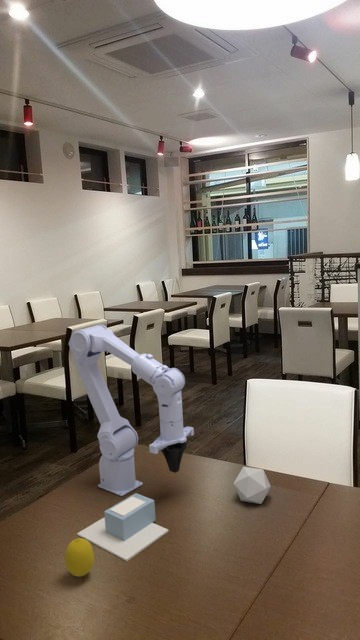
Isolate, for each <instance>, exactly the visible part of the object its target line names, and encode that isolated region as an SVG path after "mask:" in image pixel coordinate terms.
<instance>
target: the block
mask: <svg viewBox="0 0 360 640" xmlns="http://www.w3.org/2000/svg"><path fill="white" fill-rule="evenodd" d="M103 515H104V517H105V528H106V532H107V533H109V534H111V535H113V536H115V537H117V538H119V539H121V540H123V541H126V540H127V539H129V538H130V537H132V536H133V535H135V534H136V533H138V532H139V531H141V530H142V529H144V528H145V527H147V526H148V525H150V524H151V523H154V522H155V521H157V520H156V505H155V500H154V499H152V498H150V497H147V496H144V495H143V494H140V493H133V494H132V495H129V496H128V497H127V498H125V499H123V500H121V501H119V502H117V503H116V504H115V505H113V506H111V507H110V508H107V509H106V510H104V512H103Z"/></svg>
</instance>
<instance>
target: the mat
mask: <svg viewBox="0 0 360 640" xmlns="http://www.w3.org/2000/svg"><path fill="white" fill-rule="evenodd" d="M168 532H170V531H169V529H168V528H165V527H163V526H161V525H159V524H157V523H154V522H153V523H151V524H150V525H148V526H147V527H145V528H144V529H142V530H141V531H139V532H138V533H136V534H135V535H133V536H132V537H130V538H129V539H127V540H126V541H123V540H121V539H119V538H117V537H115V536H113V535H111V534H109V533H107V532H106V528H105V516H104V517H102V518H101V519H99V520H97V521H95V522H94V523H92V524H91V525H89V526H86V528H84V529H82V530H80V531H79V532H77V533H76V535H77V536H78V537H79V538H83V539H85V540H87V541H88V542H89V543H90V544H94V545H95V546H97V547H99V548H101V549H103V550H105V551H106V552H108V553H111V554H112V555H114V556H116V557H117V558H119V559H121V560H124V561H126V562H128V561H130V560H131V559H132V558H135V556H137V555H138V554H139V553H141V552H142V551H143V550H145V549H146V548H147V547H149V546H150V545H152V544H154V542H156V541H157V540H159V539H160V538H162V537H163V536H165V535H166V534H168Z"/></svg>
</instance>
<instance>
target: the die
mask: <svg viewBox="0 0 360 640" xmlns="http://www.w3.org/2000/svg"><path fill="white" fill-rule="evenodd" d="M269 481H270V480H269V479H268V477H267V475H266V472H265V470H264V469H262V468H255V467H248V466H243V467H242V468H241V470H240V472H239V474H238V475H237V477H236V478H235V480H234V482H233V486H234V488H235V490H236V492H237V495H238V497H239V499H240V501H241V502H247V503H252V504H257V505H258V504H260V505H262V503H263V502H264V500H265V498H266V496H267V495H268V493H269V491H270V489H271V487H272V486H271V484H270V482H269Z"/></svg>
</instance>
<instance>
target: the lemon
mask: <svg viewBox="0 0 360 640" xmlns="http://www.w3.org/2000/svg"><path fill="white" fill-rule="evenodd" d="M64 560H65V567H66V569H67V570H68V572H69V573H70V574H71V575H72V576H74V577H80V578H81V577H83V576H85V575H87V574H89V572H90V571H91V570H92V568H93V566H94V562H95V553H94V549H93V546H92V543H91V542H90V541H88V540H86V539H84V538H82V537H77V538H75V539H73V540H71V541H70V543H69V544H68V545H67V547H66V550H65V556H64Z"/></svg>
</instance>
